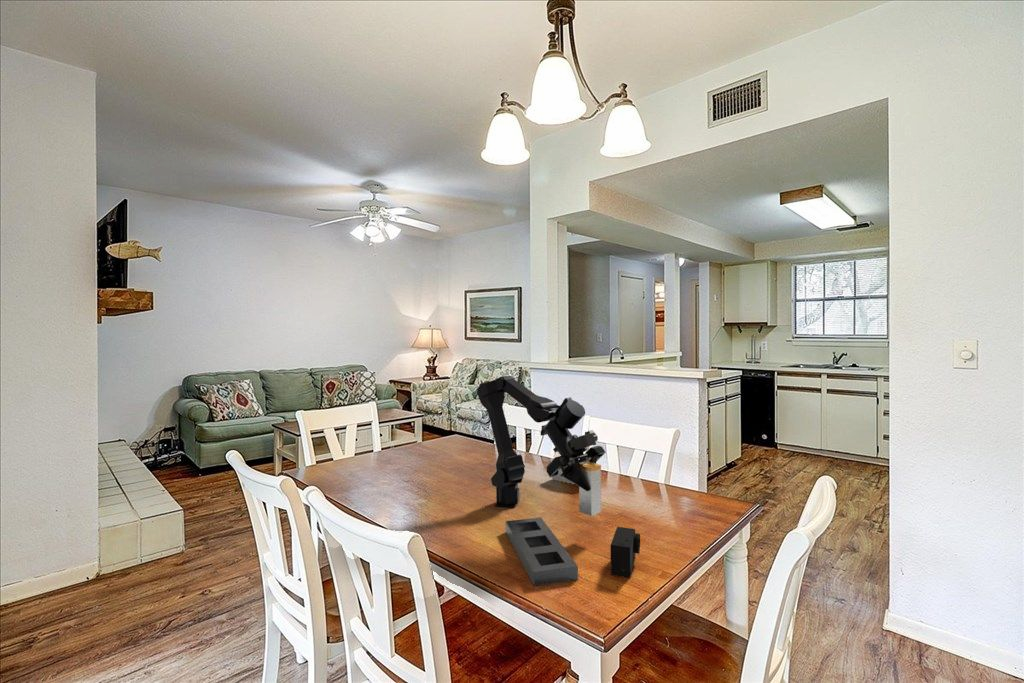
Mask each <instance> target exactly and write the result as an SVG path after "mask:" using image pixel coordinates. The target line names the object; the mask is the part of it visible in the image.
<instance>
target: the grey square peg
mask: <svg viewBox="0 0 1024 683" xmlns="http://www.w3.org/2000/svg"><path fill="white" fill-rule="evenodd" d="M579 467H580V471H581V473H582V475H583V476H584V478H585V480H586V481H587V483H588V485H589V487H590V490H589V491H586V490H584V489H583V488H581V487H580V486H578V487H579V489H578V491H579V492H578V495H579V496H578V499H579V500H578V501H579V505H578V506H579V508H578V510H579V513H582V514H585V515H587V516H589V517H594V516H595V515H598V514H601V513H602V465H601V464H600V463H597V462H596V463H592V462H586V463H583V464H580V465H579Z"/></svg>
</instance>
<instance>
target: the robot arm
mask: <svg viewBox="0 0 1024 683" xmlns="http://www.w3.org/2000/svg"><path fill="white" fill-rule="evenodd" d="M476 393H477V397H478V400H479V402H480V404H481V405H482V406H483V408H485V410H486V411H487V414H488V418H489V422H490V426H491V430H492V434H493V439H494V442H495V446H496V450H497V454H498V455H497V458H496V461H495V462H496V463H495V468H496V472H495V473H494V474H493V475H492V477H491V478H490V481H491V485H492V486H493V487H495V489H496V490H495V491H496V492H495V493H496V494H495V496H496V498H495V499H496V502H495V503H494V506H495V507H502V508H503V507H505V508H516V506H517V505H518V504H519V502H520V499H521V498H520V488H519V487H518V486H519V484H522V483H523V479H524V474H525V472H526V470H525V467H526V465H525V463H524V460H523V458H524V457H523V455H522V454H521V453H520V454H518V453H517V452H516V451H515V450H514V447H513V443H512V439H511V438H512V437H511V435H510V430H509V428H508V424H507V420H506V415H505V411H504V407H503V406H504V402H505V398H506V397H505V394H507V395H508V396H510V397H512V398H513V399H514V400H515V401H516V402H519V404H521V406H523V407H524V408H525V409H526V412H527V414H528V416H529V417H530V418H531V419H532V420H533V421H534V422H535V423H544V422H547V423H546V424H544V425H541V429H540V436H541V437H542V436H546V435H547V436H548V437H549V440H550V441H551V443H552V444H553V446H554V448H553V449H552V450H553V451H554V453H558V454H559V456H555V457H553V459H552V460H551V461H550V462H549V463H548V464H547V465H546V473H547V475H548V476H549V478H550V479H552V477H554V476H557V475H558V469H562V472H563V473H562V474H561V475H560V476H561V477H565V478H566V479H568V480H570V481H572V482H573V483H575V484H577V485H576V486H577V487H579V486H580V487H581V488H583V489H584V490H586V491H589V490H590V487H589V485H588V483H587V481H586V480H585V478H584V476H583V475H582V473H581V471H580V467H579V463H580V464H583V463H586V462H592V463H596V464H597V462H598V461H599V460H600V459H601V458H602V457H603V456H604V455H605V454H606V451H605V449H604V447H603V446H601V445H597V442H598V438H599V437H598V435H597V433H596V432H595V431H594V430H593V429H591V430H588V431H585V432H584V435H580V436H579V435H577V434H572V433H571V431H570V430H572V429H574V427H575V426H576V425H577V424H579V422H580V421H581V420H582V419H583V417H584V416H585V415H586V409H585V408H584V406H583V405H582V404H580V403H579V402H578V401H576V400H573V399H572V397H566V398H564V399H563V401H562V402H561V404H560V405H558V403H557V402H555V400H552V399H550V398H547V397H544V396H540V395H537V394H535V393H534V392H533V391H532V390H530V389H529V388H528V387H526V386H524V385H523V384H522V383H520V382H519V381H517V379H515V377H514V376H512V375H504V376H499V377H497V378H495V379H493V380H489V381H487V382H485V381H484V382H481V383H479V385H478V387H477V389H476ZM591 446H592V447H591ZM588 447H589V449H588Z"/></svg>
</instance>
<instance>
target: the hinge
mask: <svg viewBox="0 0 1024 683" xmlns="http://www.w3.org/2000/svg"><path fill="white" fill-rule="evenodd" d="M579 465H580V463H579ZM562 473H563V472H562V469H558V475H557V476H554V477H551V479H554V480H553V481H556V480H559V481H558V482H561V481H563V482H562V483H565V482H567V483H566V484H569V483H572V484H571V485H573V484H575V483H573V482H572V481H570V480H568V479H566V478H565V477H561V476H560V475H561V474H562ZM575 486H578V485H577V484H576V485H575Z"/></svg>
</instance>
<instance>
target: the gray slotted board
mask: <svg viewBox="0 0 1024 683" xmlns="http://www.w3.org/2000/svg"><path fill="white" fill-rule="evenodd" d="M505 533H506V535H507V537H508V539H509V541H510V543H511V545H512V547H513V549H514V550H515V552H516V554H517V557H518V558H519V560H520V562H521V563H522V566H523V568H524V570H525V572H526V571H527V572H526V574H527V575H528V577H529V579H530V581H531V583H532V585H533V584H534V585H533V586H534V587H536V586H535V585H538V586H543V585H542V584H545V585H550V584H558V583H565V582H572V581H573V582H574V581H578V580H579V565H578V564H577V563H576V561H574V559H573V558H572V556H571V555H570V553H568V551H567V550H566V549H565V547H564V545H562V543H561V542H560V540H559V539H558V538H557V536H556V535H555V534H554V533H553V531H552V530H551V529H550V527H549V526H548V525H547V523H546V521H544V519H543V518H542V517H532V518H531V517H530V518H524V519H523V518H522V519H513V520H506V521H505Z"/></svg>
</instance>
